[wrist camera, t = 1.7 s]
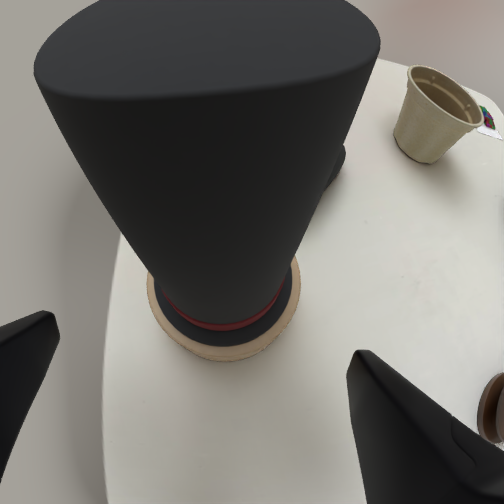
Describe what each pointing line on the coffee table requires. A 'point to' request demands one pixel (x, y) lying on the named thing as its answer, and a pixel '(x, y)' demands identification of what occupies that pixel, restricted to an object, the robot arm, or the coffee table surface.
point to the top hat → (210, 139)
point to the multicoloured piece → (488, 125)
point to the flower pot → (434, 114)
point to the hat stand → (492, 411)
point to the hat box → (232, 351)
